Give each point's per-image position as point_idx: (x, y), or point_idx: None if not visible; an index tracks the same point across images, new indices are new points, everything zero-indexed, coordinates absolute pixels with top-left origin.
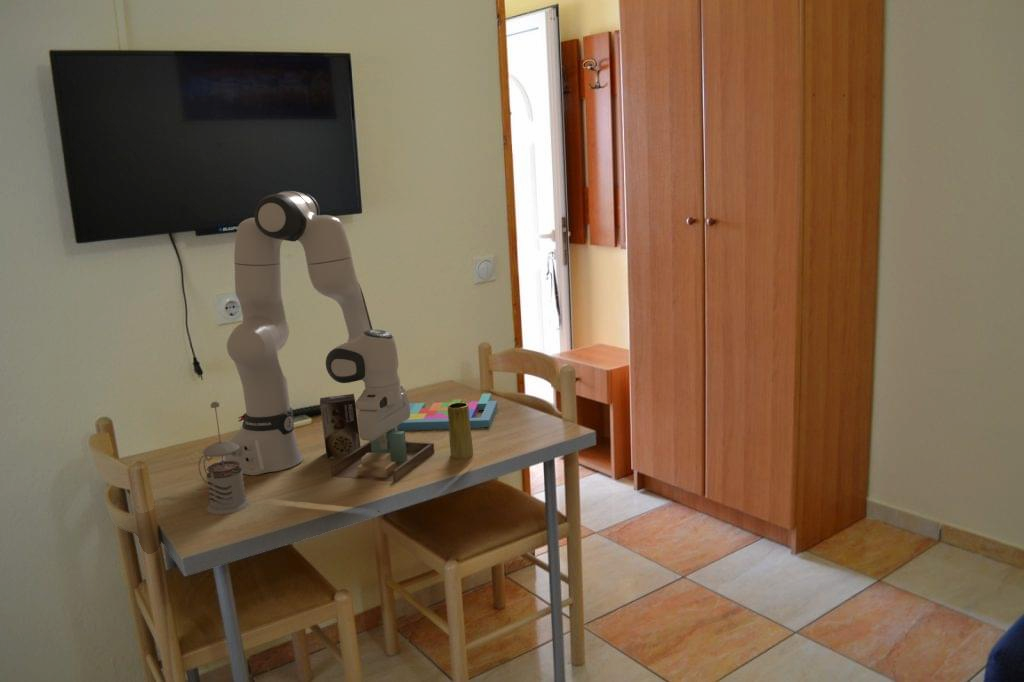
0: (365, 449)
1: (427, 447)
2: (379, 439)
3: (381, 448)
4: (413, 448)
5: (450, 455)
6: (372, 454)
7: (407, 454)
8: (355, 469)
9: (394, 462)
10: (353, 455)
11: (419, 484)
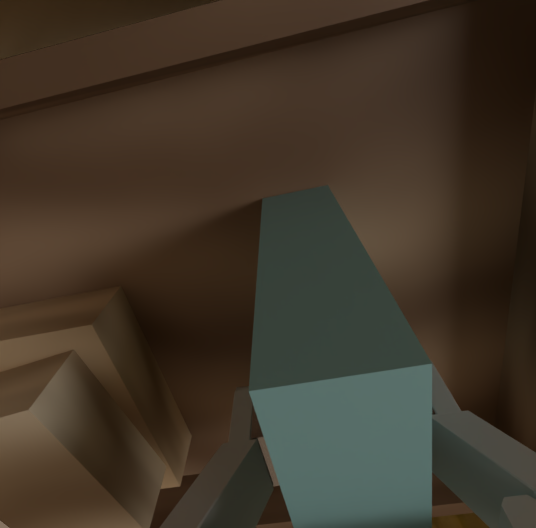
0: (363, 23)
1: (457, 513)
2: (192, 508)
3: (236, 394)
4: (519, 371)
5: (461, 523)
6: (33, 464)
7: (446, 348)
8: (39, 220)
9: (167, 485)
10: (95, 87)
11: None
